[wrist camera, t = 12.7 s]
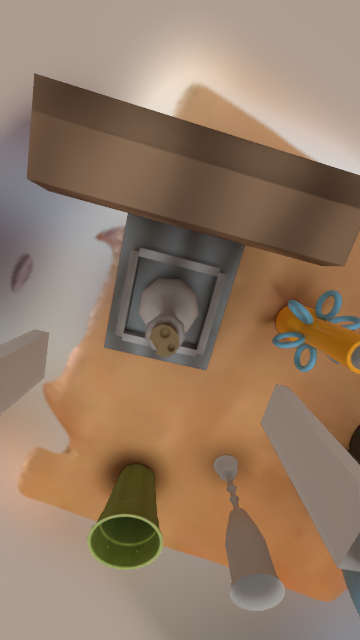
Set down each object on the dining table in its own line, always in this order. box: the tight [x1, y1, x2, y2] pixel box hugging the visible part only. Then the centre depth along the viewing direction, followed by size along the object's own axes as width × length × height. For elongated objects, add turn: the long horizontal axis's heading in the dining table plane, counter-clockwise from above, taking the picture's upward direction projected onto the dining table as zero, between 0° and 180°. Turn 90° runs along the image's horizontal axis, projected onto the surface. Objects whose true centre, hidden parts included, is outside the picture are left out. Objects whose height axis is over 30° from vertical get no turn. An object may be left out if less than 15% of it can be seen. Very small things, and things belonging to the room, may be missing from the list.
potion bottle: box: [139, 278, 199, 357], centre depth 27 cm, size 9×9×18 cm
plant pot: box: [87, 464, 163, 570], centre depth 40 cm, size 12×12×11 cm
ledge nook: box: [27, 74, 360, 370], centre depth 25 cm, size 18×23×23 cm
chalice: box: [214, 455, 285, 611], centre depth 36 cm, size 7×7×18 cm
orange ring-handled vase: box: [272, 290, 360, 374], centre depth 30 cm, size 12×10×15 cm
